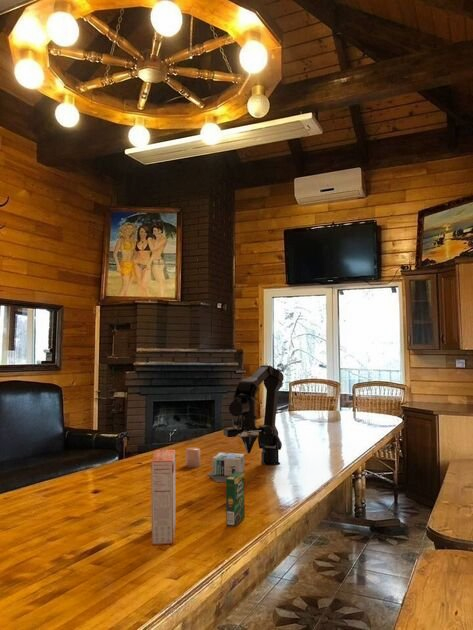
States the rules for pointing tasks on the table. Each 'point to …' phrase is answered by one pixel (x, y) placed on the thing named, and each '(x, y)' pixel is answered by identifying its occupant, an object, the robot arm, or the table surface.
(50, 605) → the table surface
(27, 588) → the table surface
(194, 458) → the pink rounded capsule
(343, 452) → the table surface
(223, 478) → the mat
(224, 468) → the light bulb box
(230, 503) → the coffee box
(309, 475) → the table surface
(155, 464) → the cracker box
